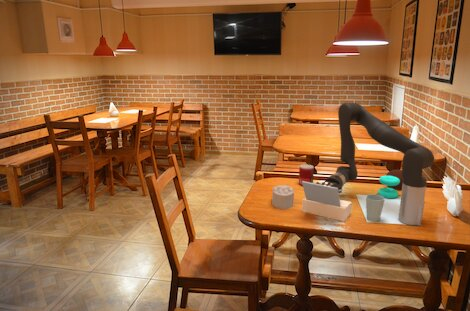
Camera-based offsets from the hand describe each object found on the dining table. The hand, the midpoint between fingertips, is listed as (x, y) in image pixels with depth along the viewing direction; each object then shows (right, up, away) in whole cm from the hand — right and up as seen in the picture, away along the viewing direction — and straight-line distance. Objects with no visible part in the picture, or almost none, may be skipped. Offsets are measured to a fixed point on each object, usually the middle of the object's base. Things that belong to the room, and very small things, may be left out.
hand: (321, 193), depth 163 cm
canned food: (+2, 0, +48) cm, 48 cm away
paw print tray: (-15, -8, +19) cm, 26 cm away
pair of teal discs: (+42, -5, +31) cm, 53 cm away
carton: (+4, -10, +9) cm, 14 cm away
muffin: (+52, -2, +44) cm, 68 cm away
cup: (+24, -12, +3) cm, 27 cm away
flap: (+1, -5, +3) cm, 6 cm away
